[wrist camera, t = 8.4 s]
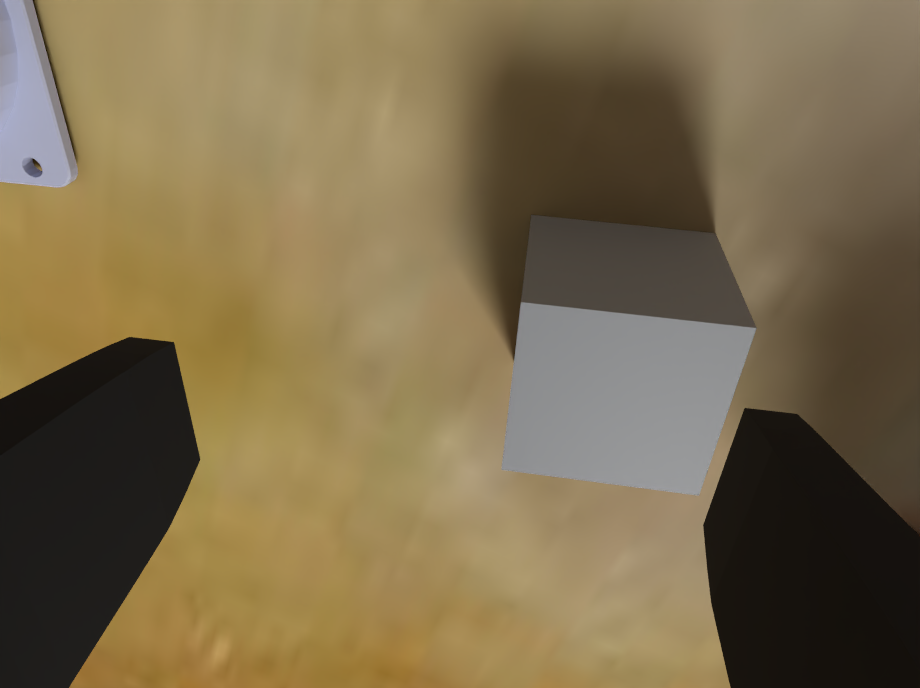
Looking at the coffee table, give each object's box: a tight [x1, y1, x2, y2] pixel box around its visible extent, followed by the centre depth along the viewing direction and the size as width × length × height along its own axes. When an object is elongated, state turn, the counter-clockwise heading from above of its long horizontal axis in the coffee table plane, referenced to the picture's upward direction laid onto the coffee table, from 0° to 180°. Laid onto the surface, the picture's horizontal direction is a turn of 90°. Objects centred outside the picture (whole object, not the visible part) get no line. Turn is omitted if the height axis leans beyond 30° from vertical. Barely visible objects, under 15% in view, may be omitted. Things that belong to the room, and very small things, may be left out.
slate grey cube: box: [502, 215, 756, 495], centre depth 16 cm, size 4×4×4 cm
